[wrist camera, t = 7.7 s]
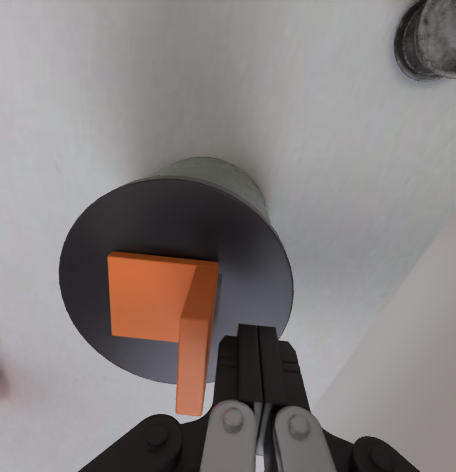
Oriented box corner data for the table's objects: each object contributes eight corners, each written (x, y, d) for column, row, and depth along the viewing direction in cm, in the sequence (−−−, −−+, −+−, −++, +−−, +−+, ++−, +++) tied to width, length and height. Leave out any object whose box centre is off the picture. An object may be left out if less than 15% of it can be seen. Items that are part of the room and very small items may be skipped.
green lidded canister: (280, 161, 24) (315, 193, 12) (260, 286, 28) (274, 395, 17) (137, 146, 24) (43, 165, 12) (138, 273, 28) (69, 374, 17)
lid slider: (219, 261, 14) (210, 320, 10) (212, 338, 15) (201, 417, 11) (112, 250, 14) (56, 305, 10) (116, 328, 15) (69, 403, 11)
